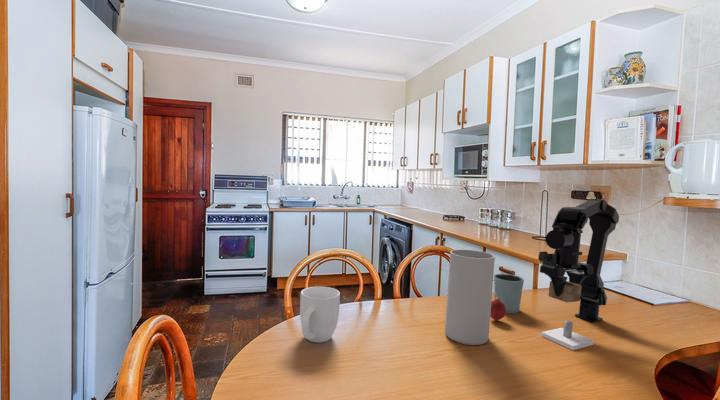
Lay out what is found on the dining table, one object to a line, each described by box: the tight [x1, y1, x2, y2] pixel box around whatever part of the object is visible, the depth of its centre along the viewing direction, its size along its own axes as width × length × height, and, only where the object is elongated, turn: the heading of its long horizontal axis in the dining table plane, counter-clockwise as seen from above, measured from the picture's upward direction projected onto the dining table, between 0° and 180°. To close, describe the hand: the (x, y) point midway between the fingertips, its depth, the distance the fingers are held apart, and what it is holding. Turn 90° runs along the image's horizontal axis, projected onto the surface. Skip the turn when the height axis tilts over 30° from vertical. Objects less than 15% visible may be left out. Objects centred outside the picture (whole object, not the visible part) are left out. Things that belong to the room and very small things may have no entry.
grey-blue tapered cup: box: [493, 273, 525, 314], centre depth 135 cm, size 10×10×12 cm
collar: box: [548, 280, 582, 304], centre depth 117 cm, size 6×6×5 cm
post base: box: [540, 319, 595, 351], centre depth 110 cm, size 10×10×6 cm
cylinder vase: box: [444, 249, 496, 346], centre depth 108 cm, size 12×12×25 cm
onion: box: [490, 297, 507, 322], centre depth 123 cm, size 6×6×8 cm
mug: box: [299, 286, 341, 343], centre depth 101 cm, size 15×11×13 cm
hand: (564, 295), depth 117 cm, fingers closed on collar, 6 cm apart
